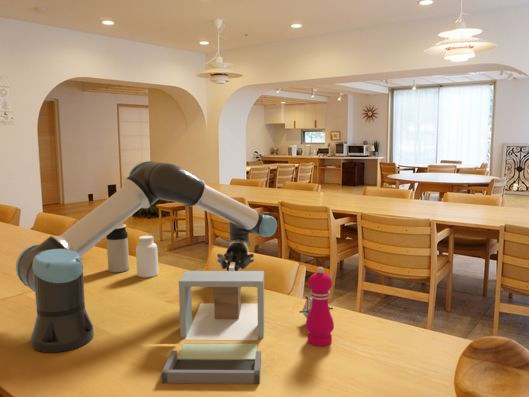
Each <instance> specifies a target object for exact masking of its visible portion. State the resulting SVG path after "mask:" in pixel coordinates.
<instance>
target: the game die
mask: <svg viewBox="0 0 529 397" xmlns="http://www.w3.org/2000/svg"><path fill="white" fill-rule="evenodd" d="M305 299H306V301H305V304H304V306H303V308H302V310H300V311H299V314H300V313H301V314H303V315H304V316H305V318H306V319H307V317H308V315H309V313H310V310H311V307H312V297H308V296H306V295H305ZM328 307H329V311H330V312H331V310H334V307H330V305H328Z"/></svg>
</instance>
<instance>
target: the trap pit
mask: <svg viewBox="0 0 529 397" xmlns="http://www.w3.org/2000/svg"><path fill="white" fill-rule="evenodd" d="M177 358H178V350H171V352H170V354H169V356H168V358H167V360H166V362H165V364H164V367H163V369H162V371H161V384H225V385H226V384H238V385H239V384H241V385H242V384H243V385H244V384H247V385H249V384H250V385H251V384H254V385H258V384H259V385H260V383H261V382H260V380H261V370H262V369H261V366H262V351H261V350H257V351H256V356H255V360H177Z"/></svg>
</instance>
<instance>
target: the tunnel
mask: <svg viewBox="0 0 529 397" xmlns="http://www.w3.org/2000/svg"><path fill="white" fill-rule="evenodd" d="M192 287H193V288H194V287H195V288H198V287H199V288H200V287H201V288H204V287H205V288H208V287H209V288H210V287H211V288H212V287H213V288H214V287H241V288H247V287H248V288H252V287H253V288H256V287H257V291H256V292H257V296H256V297H257V299H256V300H257V303H242V302H241V310H240V315H239V319H215V312H214V302H212V303H211V302H210V303H207V302H206V303H203V302H202V303H200V304H199V307H198V309H197V312H196V314H195V316H194V317H193V310H192V308H193V305H192V300H193V298H192ZM178 297H179V299H178V300H179V305H178V306H179V324H180V325H179V326H180V327H179V330H180V335H179V336H180V338H185V340H184V341H258V339H259V338H260V339H261V338H263V339H264V335H265V271H264V270H238V271H227V270H184V273H183V274H182V275H181V277H180V279H178Z"/></svg>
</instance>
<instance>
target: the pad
mask: <svg viewBox="0 0 529 397" xmlns="http://www.w3.org/2000/svg"><path fill="white" fill-rule="evenodd" d="M256 351H258V343H225V342H224V343H215V342H214V343H203V342H200V343H197V342H195V343H192V342H188V343H187V342H186V343H185V342H184V343H183V344H182V347H181V349H180V351H179V354H177V360H255V356H256Z"/></svg>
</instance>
